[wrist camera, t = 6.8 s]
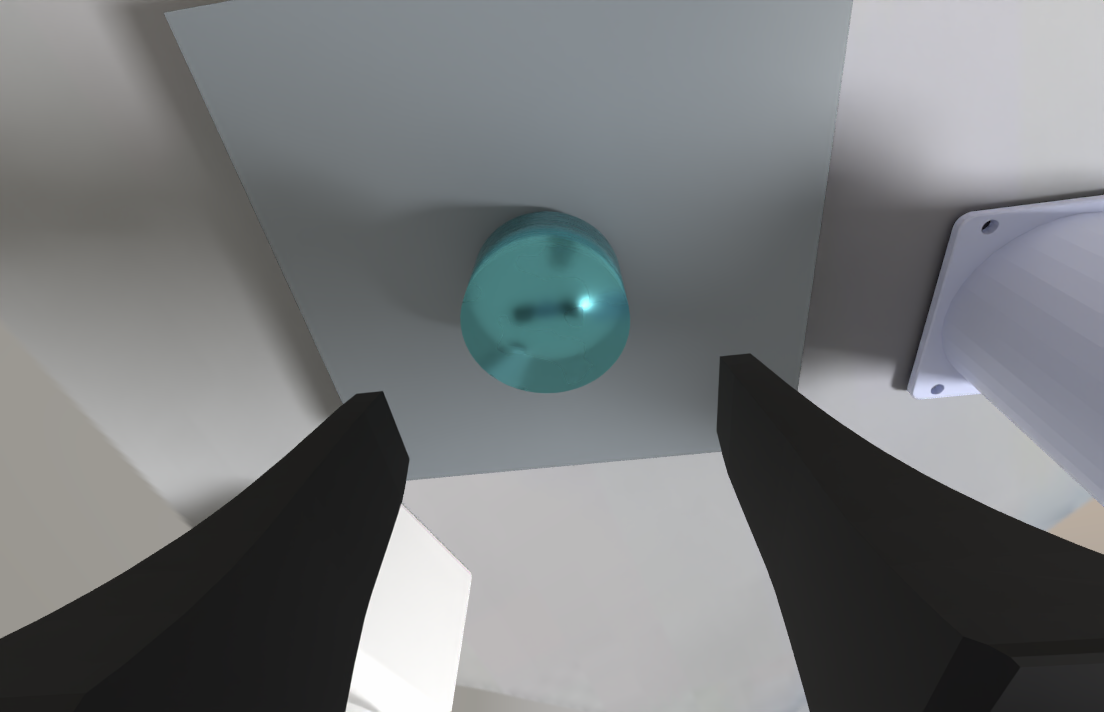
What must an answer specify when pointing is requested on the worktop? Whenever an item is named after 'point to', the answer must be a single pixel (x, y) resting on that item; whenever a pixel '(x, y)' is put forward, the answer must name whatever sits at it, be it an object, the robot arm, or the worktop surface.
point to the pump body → (533, 194)
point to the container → (412, 626)
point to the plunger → (545, 304)
